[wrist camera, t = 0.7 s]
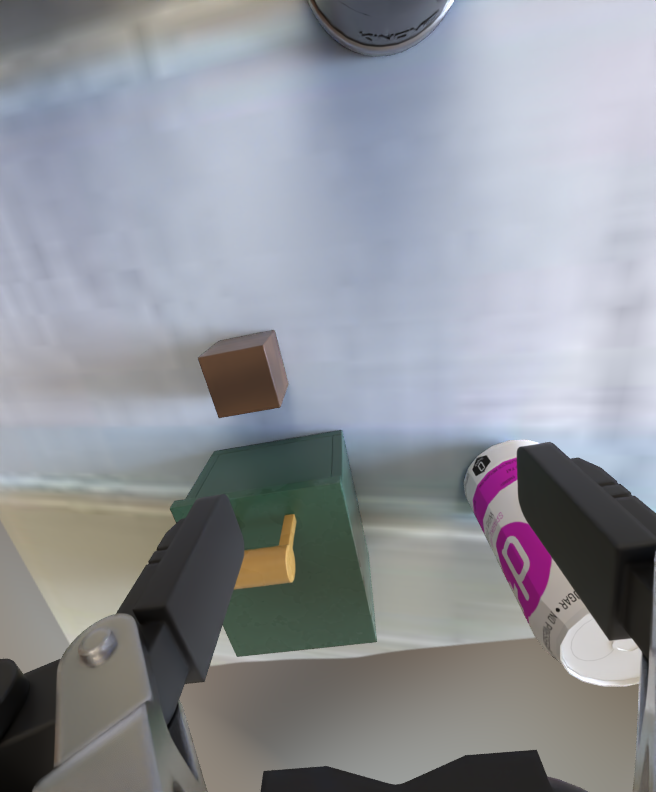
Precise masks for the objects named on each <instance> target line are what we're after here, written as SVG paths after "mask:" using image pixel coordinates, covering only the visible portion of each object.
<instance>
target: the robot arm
mask: <svg viewBox="0 0 656 792" xmlns="http://www.w3.org/2000/svg"><path fill="white" fill-rule="evenodd" d="M453 2H454V0H308V3H309V5H310V7H311V9H312V11H313V13H314V15H315V16H316V18H317V20H318V21H319V22H320V24H321V25H322V27H323V28H324V29H325V30H326V31H327V32H328V34H329V35H330V36H331V37H333V38H334V39H335V40H336V41H337V42H339V43H340V44H341V45H343V46H344V47H346V48H348V49H350V50H352V51H354V52H357V53H360V54H363V55H369V56H388V55H392V54H396V53H399V52H402V51H405V50H407V49H409V48H411V47H413V46H414V45H416V44H418V43H419V42H420V41H422V40H423V39H424V38H426V37H427V36H428V35H429V34H430V33H431V32H432V31H433V30H434V29H435V28H436V27H437V26H438V25H439V23H440V22H441V21H442V19H443V18H444V17H445V15H446V14H447V12H448V11H449V9H450V8H451V6H452V4H453ZM517 483H518V500H519V504H520V508H521V511H522V513H523V515H524V517H525V519H526V521H527V522H528V524H529V525H530V527H531V528H532V530H533V531H534V533H535V534H536V535H537V537H538V538H539V540H540V541H541V543H542V544H543V546H544V547H545V548H546V550H547V551H548V553H549V554H550V556H551V557H552V559H553V560H554V561H555V563H556V564H557V566H558V567H559V569H560V570H561V572H562V573H563V575H564V576H565V577H566V579H567V580H568V582H569V583H570V585H571V586H572V588H573V589H574V590H575V592H576V593H577V595H578V596H579V598H580V599H581V601H582V602H583V604H584V605H585V606H586V608H587V609H588V611H589V612H590V614H591V615H592V617H593V618H594V619H595V621H596V622H597V624H598V625H599V627H600V628H601V630H602V631H603V633H604V634H605V635H606V637H607V638H608V640H609V641H612V640H622V639H631V638H632V639H633V641H634V642H635V643H636V645H637V646H638V647H639V649H640V650H641V651H642V654H641V661H640V680H639V701H638V702H639V703H638V722H637V741H636V760H635V773H634V784H633V792H656V513H655V512H654V511H652V510H651V509H650V508H649V507H648V506H646V505H645V504H644V503H643V502H642V501H640V500H639V499H638V498H637V497H635V496H632V495H631V492H629V491H628V490H627V489H626V488H625V487H623V486H622V485H621V484H618V483H617V481H616V480H615V479H614V478H613V477H611V476H610V475H609V474H608V473H607V472H605V471H604V470H603V469H602V468H601V467H598V466H596V465H594V464H592V463H589V462H587V461H585V460H583V459H580V458H572V459H570V458H569V457H568V456H566V455H565V454H564V453H563V452H562V451H561V450H560V449H559V448H558V447H557V446H555V445H554V444H553V443H551V442H546V443H540V444H534V445H528V446H521V447H519V448H518V449H517ZM243 558H244V539H243V535H242V533H241V530H240V527H239V524H238V522H237V519H236V516H235V514H234V511H233V508H232V506H231V503H230V500H229V498H228V497H227V495H225V494H220V495H214V496H208V497H202V498H198V499H197V500H196V501H195V502H194V504H193V506H192V508H191V509H190V511H189V513H188V514H187V516H186V518H184V519H180V520H179V521H178V522H177V523H176V524H175V525H174V526H173V527H172V528H171V529H170V530H169V531H168V532H167V533H166V534H165V536H164V537H163V539H162V540H161V542H160V544H159V545H158V547H157V551H155V552H154V553H153V555H152V557H151V558H150V560H149V561H148V562H149V564H148V565H146V566H145V568H144V569H143V571H142V573H141V574H140V576H139V578H138V579H137V581H136V582H135V584H134V586H133V587H132V589H131V590H130V592H129V594H128V595H127V597H126V598H125V600H124V602H123V603H122V605H121V606H120V608H119V610H118V611H117V613H116V614H114V615H111V616H108V617H105V618H103V619H101V620H99V621H97V622H96V623H94V624H93V625H91V626H90V627H88V628H87V629H86V630H84V631H83V632H82V633H81V634H80V635H79V636H78V637H77V638H76V639H75V640H74V641H73V642H72V643H71V644H70V646H69V647H68V648H67V650H66V651H65V653H64V654H63V656H62V658H61V659H59V660H56V661H54V662H51V663H49V664H47V665H44V666H42V667H40V668H37V669H35V670H32V671H30V672H27V673H25V674H23V673H22V672H21V670H20V669H19V668H18V666H17V665H16V664H15V662H14V661H12V660H10V659H0V792H207V788H206V785H205V782H204V778H203V775H202V771H201V768H200V764H199V761H198V757H197V754H196V751H195V747H194V744H193V740H192V737H191V733H190V730H189V727H188V723H187V720H186V716H185V713H184V709H183V706H182V704H181V702H180V700H179V698H180V695H181V693H182V689H183V687H184V684H187V683H197V682H204V681H205V678H206V675H207V672H208V669H209V666H210V663H211V660H212V656H213V653H214V650H215V647H216V644H217V641H218V637H219V634H220V631H221V628H222V625H223V622H224V619H225V615H226V612H227V609H228V606H229V603H230V600H231V596H232V593H233V590H234V587H235V584H236V581H237V578H238V574H239V571H240V568H241V565H242V562H243ZM261 792H588V791H586V790H583V789H582V788H580V787H577V786H575V785H572V784H569V783H567V782H564V781H562V780H559V779H555V778H551V777H547V775H546V773H545V770H544V767H543V765H542V762H541V760H540V757H539V755H538V752H537V750H529V751H515V752H503V753H491V754H479V755H478V754H477V755H465V756H463V757H461V758H459V759H457V760H454V761H452V762H450V763H448V764H446V765H443V766H441V767H439V768H436V769H435V770H432V771H430V772H428V773H426V774H423V775H421V776H419V777H416V778H414V779H412V780H410V781H408V782H405V783H403V784H397V785H393V784H388V783H385V782H381V781H378V780H374V779H370V778H367V777H363V776H360V775H356V774H353V773H349V772H346V771H342V770H339V769H335V768H331V767H328V766H324V767H310V768H299V769H285V770H272V771H264V773H263V779H262V786H261Z"/></svg>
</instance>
